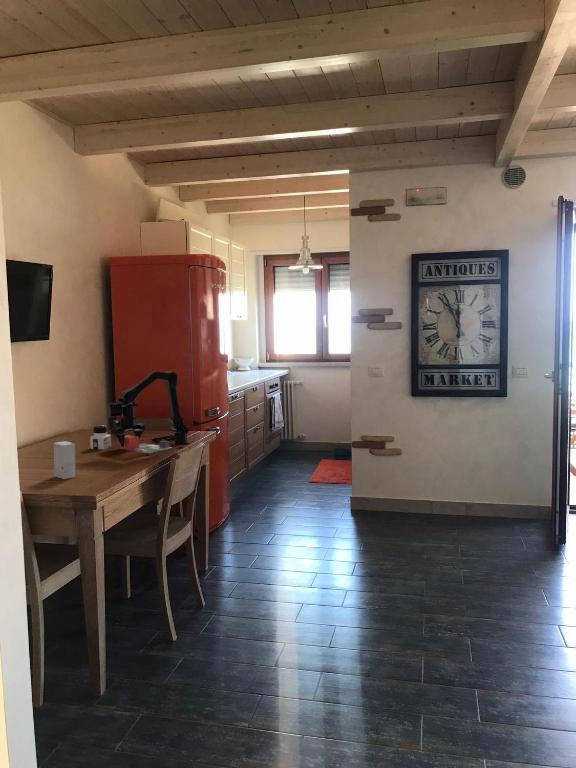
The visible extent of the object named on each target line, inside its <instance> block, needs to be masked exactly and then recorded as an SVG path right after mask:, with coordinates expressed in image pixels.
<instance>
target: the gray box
mask: <svg viewBox="0 0 576 768" xmlns="http://www.w3.org/2000/svg"><path fill="white" fill-rule="evenodd" d="M158 443H159V444H158V445H159V446H160V447H162V448H167V447H170V441H169V440H160V441H159V442H158Z"/></svg>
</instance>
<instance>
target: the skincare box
mask: <svg viewBox="0 0 576 768" xmlns="http://www.w3.org/2000/svg"><path fill="white" fill-rule="evenodd" d="M53 477H55V478H59V479H62V480H66V479H67V480H68V479H71V478H75V477H76V444H75V443H73V442H70V441H65V440H63V441H56V442H53Z"/></svg>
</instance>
